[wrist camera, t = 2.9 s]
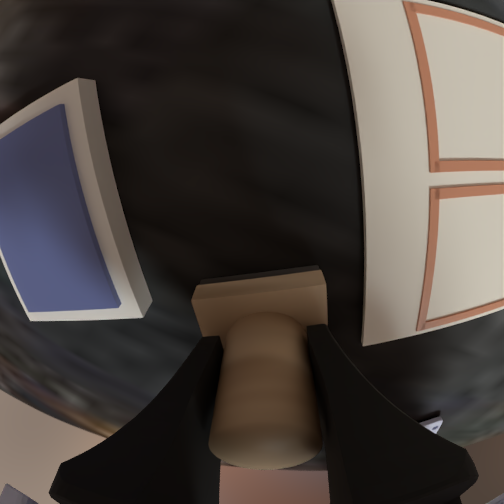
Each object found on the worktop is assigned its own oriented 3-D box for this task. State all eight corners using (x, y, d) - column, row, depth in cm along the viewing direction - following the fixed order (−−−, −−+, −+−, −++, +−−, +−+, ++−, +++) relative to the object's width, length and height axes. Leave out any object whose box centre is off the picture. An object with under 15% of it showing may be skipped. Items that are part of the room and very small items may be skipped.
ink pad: (152, 300, 12) (140, 322, 10) (42, 308, 12) (27, 324, 11) (95, 80, 8) (72, 76, 7) (-12, 142, 9) (-34, 148, 8)
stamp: (323, 352, 13) (344, 469, 7) (224, 362, 13) (207, 477, 8) (319, 263, 11) (358, 389, 5) (199, 278, 11) (153, 403, 6)
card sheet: (535, 292, 11) (538, 296, 11) (361, 342, 12) (363, 347, 12) (543, 44, 5) (548, 44, 5) (328, -8, 7) (331, -12, 6)
